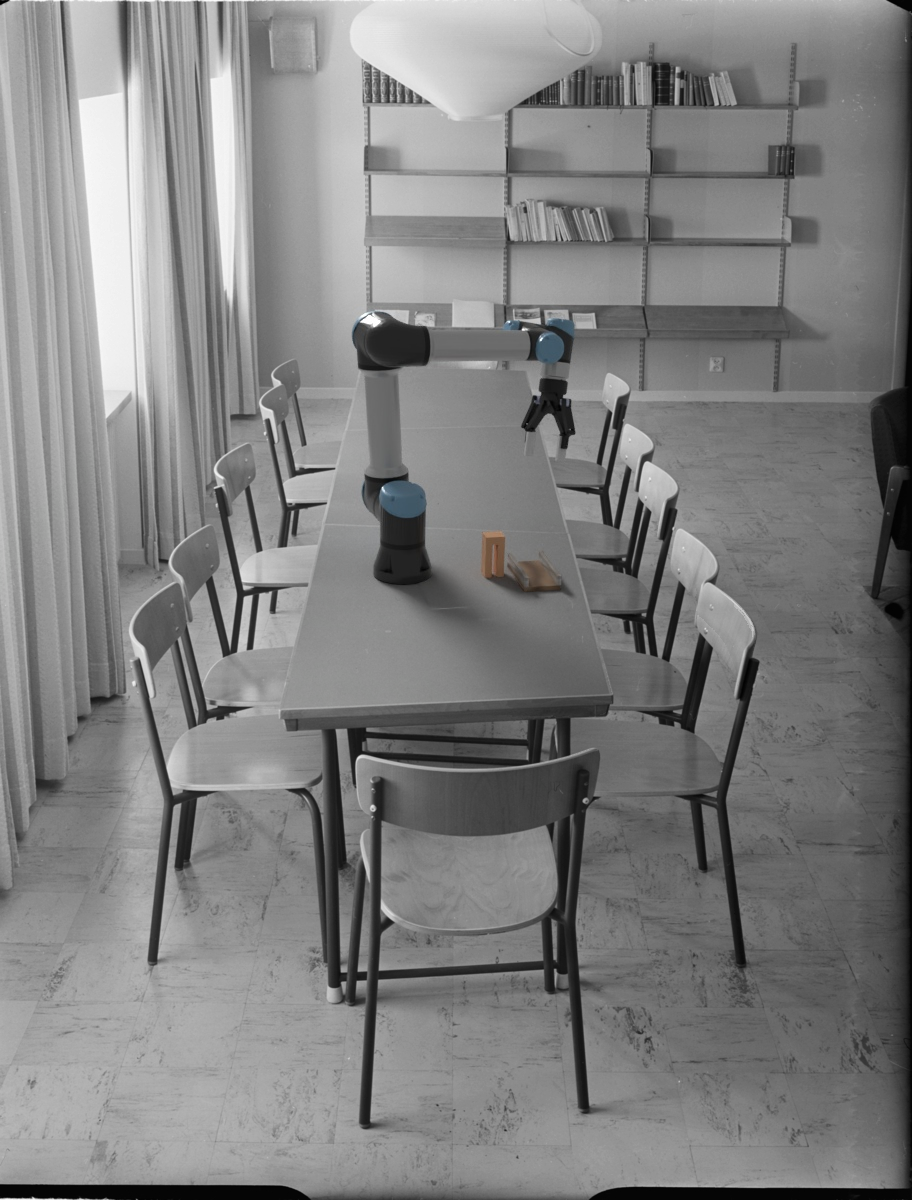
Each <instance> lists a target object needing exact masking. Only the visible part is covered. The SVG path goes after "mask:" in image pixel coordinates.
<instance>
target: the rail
mask: <svg viewBox="0 0 912 1200" xmlns="http://www.w3.org/2000/svg"><path fill="white" fill-rule="evenodd" d="M506 567H507V569H508V570H509V571H510V572H511V574H512V575H513V577H514V579H515V581H516V582H517V583H518V584H519V586H520V587H521V589H522V590H523V592H525V593H526V592H541V591H542V592H543V591H544V592H545V591H560V590H562V578H563V577H562V575H561V574H560V572H559V571H558V569H557V568H556V567H555V565H554V564H553V563H552V561H550V559H549V557H548V556H546V554H545V553H544V552H543V551H538V560H523V561H518V560H517V559H516V558H515V556H514V554H513V553H512V552H508V553H507V564H506Z"/></svg>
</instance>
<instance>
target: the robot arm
mask: <svg viewBox="0 0 912 1200" xmlns="http://www.w3.org/2000/svg"><path fill="white" fill-rule="evenodd" d="M502 326H503V327H502V330H501V329H498V330H497V329H430V328H429V327H428V326H427V325H417V324H415V325H414V324H409V323H406V322H404V321H400V320H398V319H396V318H395V317H394V316H392V315H391V314H389V313H387V312H384V311H380V310H379V311H378V310H371V311H368V312H364V313H363V314H362V315H360V316H359V317H358V318H357V319H356V320H355V322H354V323H353V326H352V329H351V340H352V344H353V347H354V348H355V349H356V360H357V369H358V370H359V371H360V372H361V373H362V374H363V375H364V389H365V392H364V393H365V407H366V425H367V427H366V428H367V442H368V443H367V444H368V461H369V462H368V463H369V464H368V466H367V467H366V468H365V469H364V472H363V473H364V475H363V476H364V481H363V483H362V484H361V490H360V491H361V493H360V494H361V499H362V501H363V504H364V506H365V508H366V509H367V510H368V512H369V513H371V514H372V515H373V517H375V518H376V519H377V521H378V522H379V548H378V551H377V554H376V557H375V560H374V562H373V566H372V567H373V568H372V569H373V572H372V573H373V577H375V578H376V579H377V580H379V581H381V582H384V583H389V584H395V585H411V584H412V585H413V584H418V583H422V582H425V581H427V580H428V579H430V578H431V576H432V574H433V573H432V571H433V570H432V569H433V568H432V566H433V565H432V563H431V559H430V556H429V554H428V550H427V547H426V529H427V528H426V524H427V522H426V520H427V519H426V518H427V515H426V513H427V505H428V504H427V503H428V502H427V499H426V497H427V496H426V491H425V490H424V488H423V487H422V486H421V485H420V484H417V483H415V482H414V483H412V481H410V477H409V473H410V472H409V467H408V466H406V465H405V464H404V463H403V452H402V451H403V450H402V446H403V445H402V428H401V427H402V426H401V408H400V407H401V405H400V384H399V383H400V382H399V373H400V372H401V371H402V369H403V368H404V367H427V366H429V364H430V363H432V362H433V363H435V362H437V363H438V362H441V363H442V362H449V363H450V362H505V361H506V362H511V361H512V362H514V361H515V362H517V361H518V362H519V361H520V362H521V361H522V362H525V361H526V362H537V361H538V362H540V363H541V367H540V373H539V374H540V376H541V377H540V379H539V384H538V392H539V393H541V394H540V395H537V394H533V395H532V397H531V401H530V405H529V407H528V410H526V413H525V416H524V418H523V420H522V423H521V425H520V428H521V429H523V430H524V432H525V437H524V449H523V456H524V457H533V458H534V452H535V444H536V436H537V432H536V429H537V427H539V425H540V424H541V422H542V420H543V419H544V418H545V416H547V415H548V414H549V415H552V416H553V419H554V420H555V423H556V426H557V428H558V431H559V434H558V437H557V444H556V452H555V459H554V461H555V462H563V463H565V462H566V455H567V450H568V448H569V440H570V437H571V436H575V435H576V432H577V431H576V426H575V421H574V417H573V410H572V398H567V397H566V398H564V396H565V395H567V393H568V392H567V391H568V385H569V382H568V380H567V379H569V375H570V368H571V362H572V361H571V360H572V353H573V345H574V340H575V330H576V329H575V328H576V325H575V323H574V321H572V320H570V319H565V318H555V317H550V318H548V319H547V320H546V324H542V323H541V324H540V323H534V322H528V321H523V320H519V319H518V320H513V319H508V320H507V321H506V322H505V323H504V324H503V325H502Z"/></svg>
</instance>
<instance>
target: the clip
mask: <svg viewBox="0 0 912 1200" xmlns="http://www.w3.org/2000/svg"><path fill="white" fill-rule="evenodd" d="M481 535H482V536H481V558H480V559H481V563H480V564H481V565H480V572H481V574H482V575H483V577H484V579H486V578H487V579H488V578H492V576H493V573H494V575H495V577H496V576H497V577H496V578H504V576H505V574H504V573H505V554H506V549H505V547H506V536H505V534H504V532H502V531H501V530H499V531H498V530H495V531H482V534H481Z"/></svg>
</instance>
